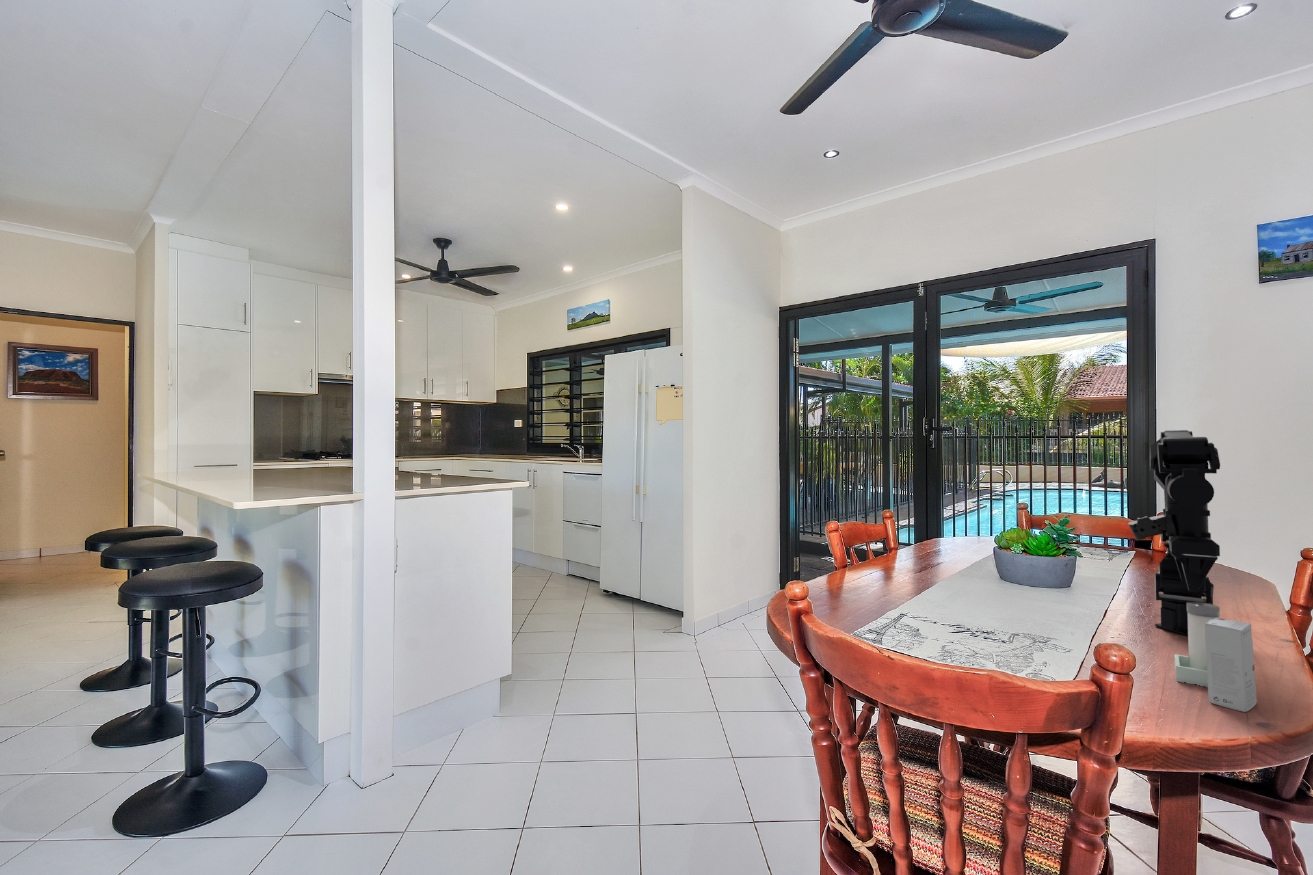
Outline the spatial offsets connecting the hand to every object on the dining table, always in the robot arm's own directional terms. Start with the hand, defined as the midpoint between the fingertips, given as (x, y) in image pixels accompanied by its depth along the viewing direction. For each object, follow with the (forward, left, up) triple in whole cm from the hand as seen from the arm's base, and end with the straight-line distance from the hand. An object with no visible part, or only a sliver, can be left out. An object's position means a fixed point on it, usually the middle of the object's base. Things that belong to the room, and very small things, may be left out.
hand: (1189, 586), depth 105 cm
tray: (+9, +9, -13) cm, 19 cm away
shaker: (+9, +9, -12) cm, 18 cm away
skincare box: (+14, +17, -13) cm, 26 cm away
